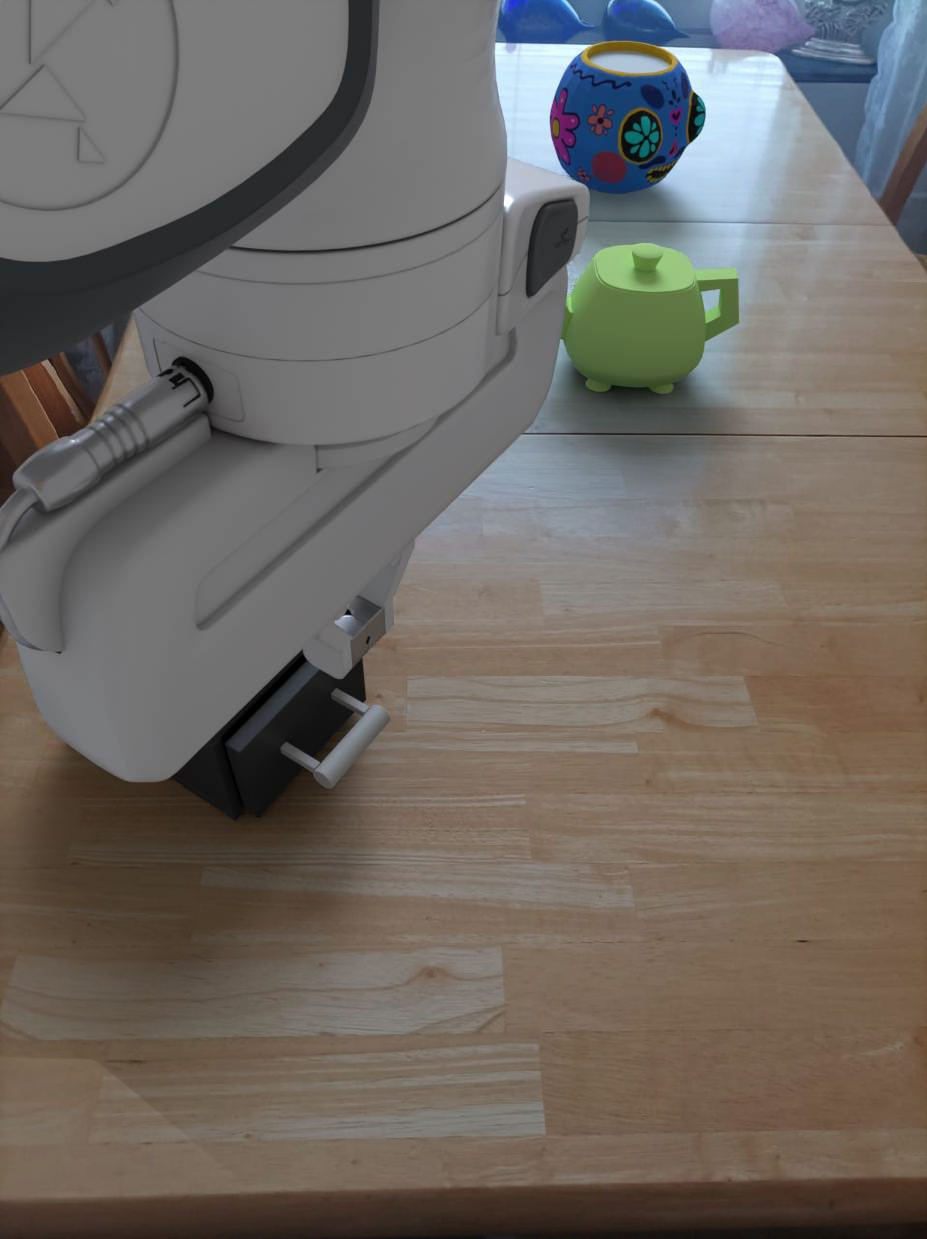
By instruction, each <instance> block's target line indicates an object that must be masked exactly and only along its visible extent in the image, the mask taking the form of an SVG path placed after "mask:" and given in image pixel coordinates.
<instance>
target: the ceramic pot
mask: <svg viewBox="0 0 927 1239" xmlns="http://www.w3.org/2000/svg"><path fill="white" fill-rule="evenodd" d="M551 103H552V104H551V107H550V113H549V131H550V138H551V140H552V143H553V144H552V145H553V147H554V152H555V154H556V157H557V159H558V162H559V164H560V167H561V169H563V171H564V172H565V173H566V174H567V175H568V176H569V178H570V179H572V180H574V181H577V182H579V183H582V184H584V185H585V186H586V187H587V188H588V189H591V190H593V191H596V192H599V193H603V194H609V195H625V194H631V193H636V192H640V191H644V190H646V189H649V188H652V187H653V186H656V185H657V184H659V183H661V182H662V181H663V180H664V179H665V178H666V177H667V176H668V175H669V173H670V172H671V171H672V170H673V169H674V167H675V166H676V165H677V163H678V162H679V160H681V157H682V155H683V153H684V152H685V150H686V149H687V147H688V146H689V145H690V144H691V143H693V142H694V141H695V140H696V139H697V138H698V137H699V136H700V134H701V133H702V131H703V129H704V127H705V122H706V117H707V107H706V104H705V102H704V100H703V99H702V98H701V96H700V95H699V94H697V93H696V92H695V90H694V89H693V87H692V83H691V81H690V78H689V75H688V73H687V70H686V68H684V66H683V64H682V63H681V62H680V60H679V58H678V57H677V56H676V55H674V53H672V52H670V51H668V50H667V49H665V48H662V47H660V46H657V45H654V44H650V43H646V42H639V41H631V40H612V41H602V42H598V43H595V44H592V45H590V46H587V47H586V48H585V49H583V50H581V52H580V53H578V54H577V55H576V56H574V58H573V59H572V60H571V61H570V63H569V64H568V65H567V67H566V69H565V70H564V72H563V73H562V75H561V79H560V81H559V83H558V85H557V87H556V90H555V93H554V97H553V99H552V102H551Z"/></svg>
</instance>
